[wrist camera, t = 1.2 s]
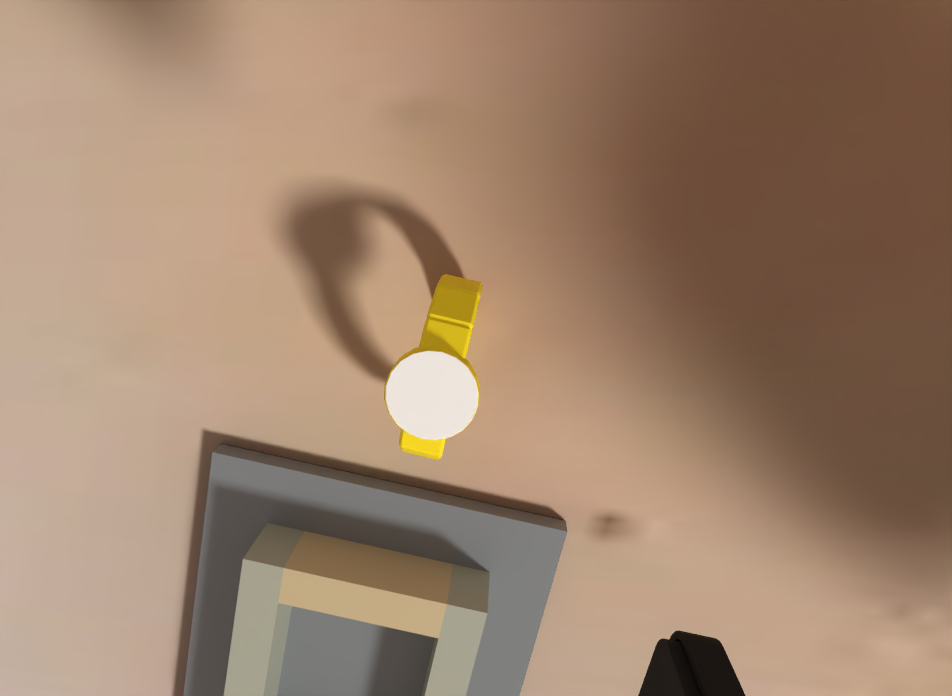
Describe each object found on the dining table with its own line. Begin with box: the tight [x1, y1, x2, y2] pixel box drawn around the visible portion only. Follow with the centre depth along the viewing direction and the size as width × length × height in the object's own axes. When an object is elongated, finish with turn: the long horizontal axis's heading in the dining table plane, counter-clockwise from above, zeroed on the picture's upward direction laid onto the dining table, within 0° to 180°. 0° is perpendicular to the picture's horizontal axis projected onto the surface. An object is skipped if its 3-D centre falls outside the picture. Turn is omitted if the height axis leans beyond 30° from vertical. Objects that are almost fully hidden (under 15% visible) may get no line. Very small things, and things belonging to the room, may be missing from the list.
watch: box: [384, 274, 483, 460], centre depth 22 cm, size 6×3×6 cm, turn 167°
